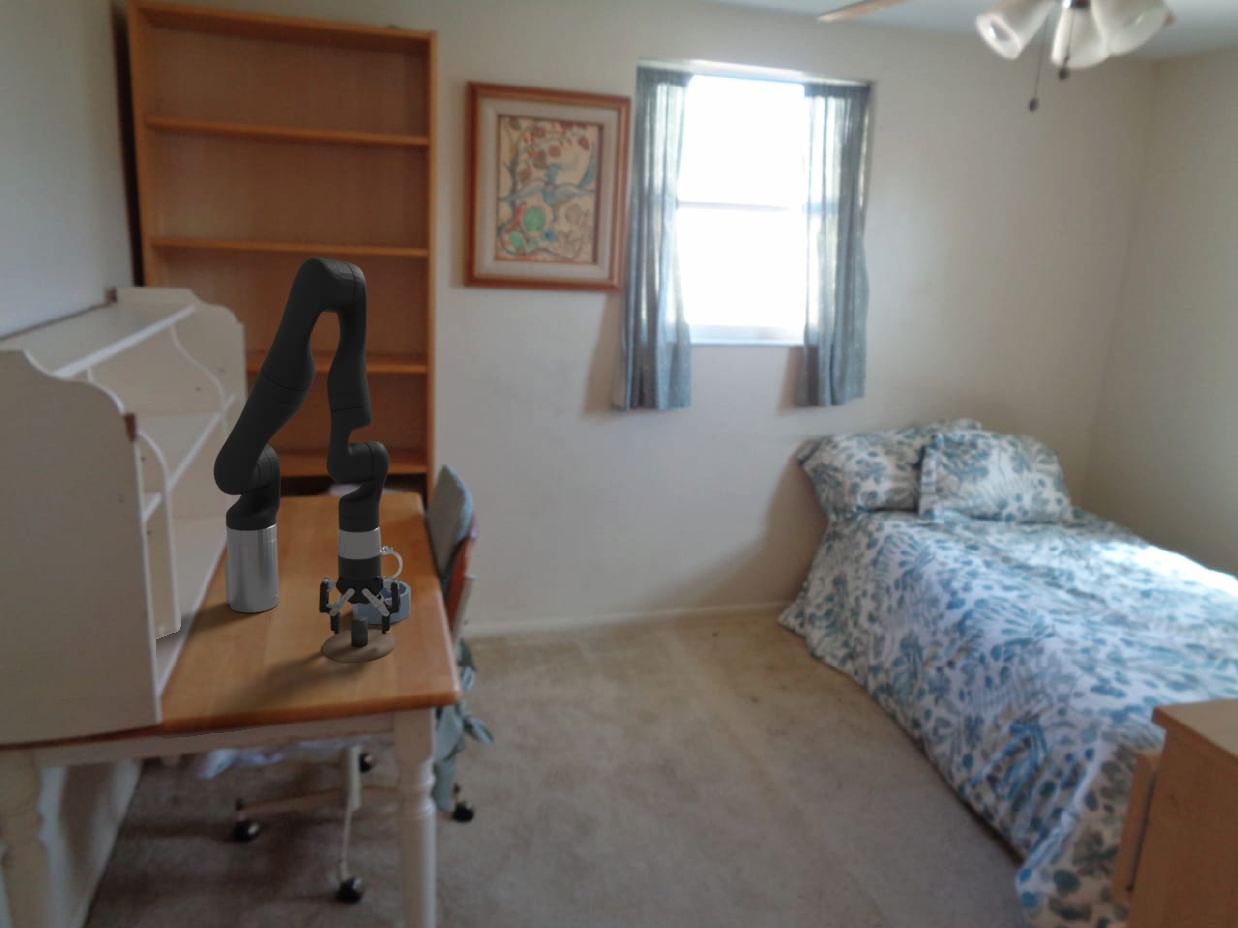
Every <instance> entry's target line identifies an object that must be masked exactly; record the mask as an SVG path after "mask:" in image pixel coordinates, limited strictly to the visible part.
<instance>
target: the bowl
mask: <svg viewBox="0 0 1238 928" xmlns="http://www.w3.org/2000/svg"><path fill="white" fill-rule="evenodd" d="M383 580H384V581H391V580H390V579H383ZM399 586H400V600H401V606H400V610H399V612H398V613H392V614H391V624H393V623H396V622H401V621H403V620H405V619H406V618H407V617H409V616H410V615H411V603H412V602H411V599H412V597H411V595H412V594H411V592H412V591H411V590H412V587H411V586H410V585H409V584H408V583H406V582H405V581H401V580H399ZM380 593H381V594H382V595H383V597H384V599H385V601H386V602H387V603H388V604H389V605H392V597H391V593H389V592H388V591H387V589H386V588H385V587H383V589H382V590H381V591H380ZM355 616H366V617H367V618H368V625H369V624H370V625H382V613H381V612H380V611H379V610H378V609H377V608H375V606H374V605H373V604H372V603H369V604H361V603H358V604H352V617H355Z"/></svg>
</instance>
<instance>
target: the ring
mask: <svg viewBox="0 0 1238 928" xmlns="http://www.w3.org/2000/svg"><path fill="white" fill-rule="evenodd" d="M393 548H394V547H388V545H383V546H382V547H381V557H382V556H383V555H384V556H385V555H388V554H389V555H390V554H391V555H392V556H394V557H395V558H396V559H397V560H398V566H399V567H398V569H397V571H396V573H394V574H393V575H390V576H389V575H385V576H382V575H381V576H382V579H390V580H393V579H394V578H398V576H399V575H400V574H401V572H402V570H403V566H404V565H403V564H404V562H403V558H402V556H401V555H400V553H398V552H397V551H395V550H393Z"/></svg>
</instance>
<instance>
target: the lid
mask: <svg viewBox="0 0 1238 928" xmlns="http://www.w3.org/2000/svg"><path fill="white" fill-rule="evenodd" d="M396 643H397V642H396V638H395V637H394V636H393V635H392V634H391V633H388V631H387V632H386V634H382V630H380V629H373V628H369V623H368V618H367V617H366V616H355V617H354V616H352V617H351V618H350V629H349V630H345V631H342V632H341V631H340V632H339V634H333V635H331V636H329V637H328V638H327V639H326V640H325V641H324V642H323V644H322V651H323V655H325V656H326V657H328V658H330V659H332V660H334V661H339V662H343V663H364V662H370V661H374V660H378V659H381V658H383V657H385V656H388V655H389V654H391V653H392V652H393V651H394V650H395V647H396V646H397V645H396Z"/></svg>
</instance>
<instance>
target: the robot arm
mask: <svg viewBox="0 0 1238 928" xmlns="http://www.w3.org/2000/svg"><path fill="white" fill-rule="evenodd" d="M367 287H368V286H367V280H366V277H365V275H364V273H363V271H362V269H361V268H360V267H359V266H357V265H356V264H354V263H352V262H347V261H344V260H337V259H330V258H324V257H310V258H308V259H306V260H305V261H304V262H302V264H301V265H300V267H299V268H298V270H297V272H296V273H295V276H294V279H293V281H292V285H291V288H290V290H289V291H290V292H289V294H288V297H287V299H286V300H287V301H286V304H285V307H284V310H283V314H282V318H281V320H280V323H279V326H278V328H277V331H276V332H275V335H274V338H273V341H272V342H271V345H270V348H269V350H268V352H267V354H266V356H265V358H264V361H263V362H262V365H261V367H260V369H259V371H258V373H257V376H256V378H255V381H254V384H253V386H252V388H251V391H250V393H249V395H248V398H247V400H246V402H245V404H244V406H243V408H242V410H241V412H240V414H239V416H238V419H237V421H236V423H235V425H234V426H233V428H232V430H231V432H230V434H229V436H228V437H227V439H226V440H225V441H224V444H223V445H222V447H220V450H219V452H218V454H217V455H216V458H215V461H214V464H213V478H214V482H215V484H216V486H217V488H218V489H219V490H220V491H221V492H222V493H224V494H225V495H226V494H227V495H230V496H239V498H238V499H237V500H236V502H235V503H234V504H232V505H231V506H230V507H229V508H228V509H227V511H226V513H225V525H226V526H225V528H226V545H227V547H226V548H227V549H226V550H227V558H225V559H224V579H225V580H224V581H225V597H226V598H225V601H226V602H225V604H226V605H229V607H230V608H231V610H233V611H235V612H240V613H248V614H249V613H259V612H264V611H265V612H266V611H268V610H270V609H274V608H275V607H277V606H278V605H279V603H280V593H279V591H280V590H279V587H280V585H279V582H280V581H279V561H278V560H279V559H278V557H279V556H278V532H277V531H278V530H277V515H278V512H279V509H280V505H281V482H282V481H281V479H282V478H281V475H282V474H281V473H282V472H281V465H280V460H279V456H278V454H277V453H276V451H275V449H274V448H273V447H272V446H271V445H269V444H268V443H269V442H270V441H271V439H272V438H274V436H276V434H277V433H279V431H280V430H281V429H283V427H285V425H286V424H287V423H288V422H289V421H290V420H292V418H293V417H294V416H295V415H296V414H297V413H298V411H300V409H301V407H303V406H302V405H303V404H304V403H305V400H306V399H307V396H308V394H309V391H310V389H311V387H312V385H314V384H313V383H314V381H315V377H316V365H315V359H314V354H313V351H312V344H311V339H312V335H313V334H312V333H313V331H314V329H315V327H316V324H317V321H318V320H319V318H320V316H321V315H322V314H323V313H331V314H336V316H337V321H338V326H339V341H338V345H337V348H336V351H335V355H334V357H333V359H332V361H331V365H330V367H329V369H328V374H327V379H326V384H327V385H326V389H327V391H326V392H327V400H328V405H329V406H328V407H329V412H330V413H329V414H330V433H329V443H328V449H327V453H326V454H327V455H326V470H327V473H328V475H329V477H330V479H332V481H333V482H335V483H336V484H338V485H339V484H341V485H347V484H354V483H355V484H356V483H361V485H360V486H359V488H357V489H356V490H353V491H351V492H348V493H346V494H344V495H342V496H341V497H340V498H339V500H338V507H337V509H338V513H337V514H338V535H337V546H336V550H337V570H338V571H337V573H338V575H337V576H338V577H337V580H335V579H330V578H328V577H324V578H323V579H322V581H321V583H319V584H320V585H319V600H318V601H319V605H318V606H319V607H318V610H319V613H321V614H323V613H326V614H328V615H329V617H330V619H329V620H330V621H329V622H330V631H331V632H333V635H335V634H339V633H341V612H340V611H341V609H342V608H344V606H345V604H346V603H347V602H348V603H350V605H353V604H358V603H361V604H369V603H372V604H373V605H374V606H375V608H377V609H378V610H379V611H380V612H381V613H382V624H381V631H382V634H386V632H387V633H388V632H389V631H390V629H391V627H392V626H391V625H392V623H391V614H392V613H398V612H399V610H400V606H401V600H400V586H399V581H400V580H399V577H396V578H394V579H392V580H391V581H384V580H383V579H382V556H381V548H382V538H381V537H382V536H381V535H382V534H381V529H380V503H381V499H382V496H383V495H382V494H383V490H384V486H385V483H386V480H387V476H388V472H389V470H390V469H389V468H390V456H389V452H388V450H387V448H386V447H385V446H384V444H383V443H382V442H380V441H375V440H369V441H368V440H367V441H359V442H357V441H356V442H349V440H350V436H351V434H352V433H353V432H355V431H358V430H361V429H364V428H367V427H369V426H370V425H371V424H372V422H373V412H372V404H371V397H370V390H369V384H368V382H369V381H368V374H367V340H368V339H367V335H368V289H367ZM383 587H385V588H386V589H387V591H388V592H389V593H391V597H392V605H389V604H388V603H387V602H386V601H385V599H384V597H383V595H382V594H381V593H380V591H381V590H382V589H383ZM334 588H335V589H336V590H337V591H338V592H339V593H340V596H339V598H338V599H337V600H336V601H335V602H334V604H331V603H330V593H331V592H332V591H333V589H334Z"/></svg>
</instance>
